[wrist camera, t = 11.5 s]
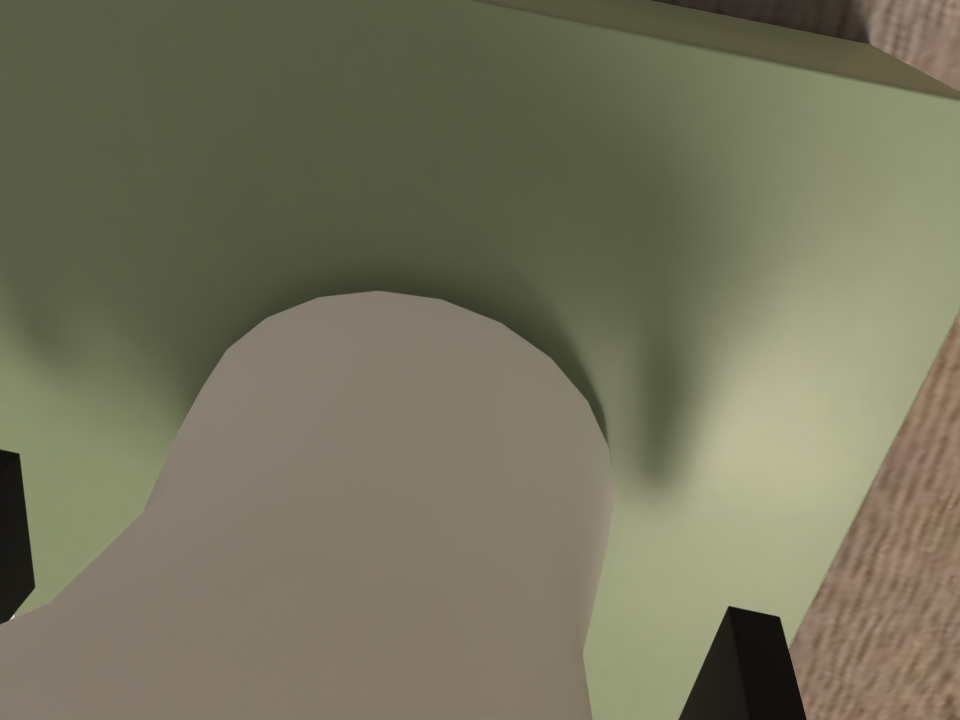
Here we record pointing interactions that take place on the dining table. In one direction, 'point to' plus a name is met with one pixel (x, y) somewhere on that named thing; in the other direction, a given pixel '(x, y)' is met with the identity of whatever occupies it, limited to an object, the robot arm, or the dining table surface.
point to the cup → (345, 537)
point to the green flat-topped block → (490, 259)
